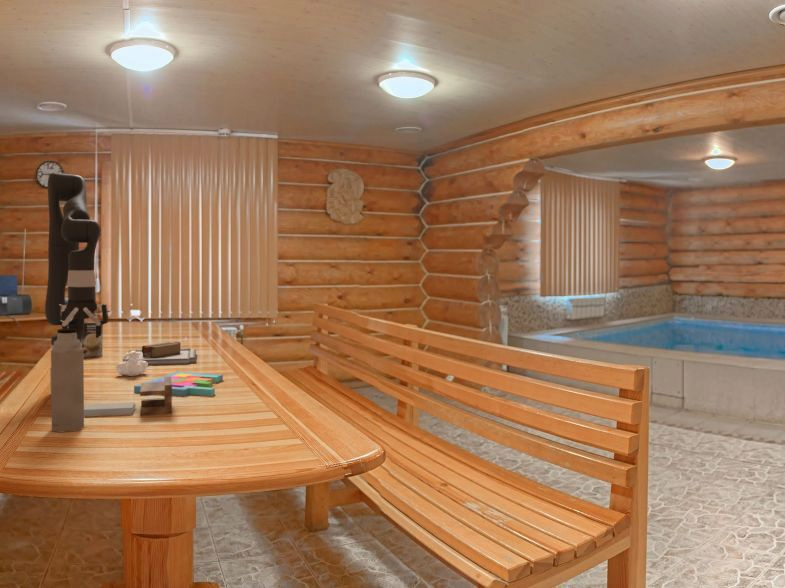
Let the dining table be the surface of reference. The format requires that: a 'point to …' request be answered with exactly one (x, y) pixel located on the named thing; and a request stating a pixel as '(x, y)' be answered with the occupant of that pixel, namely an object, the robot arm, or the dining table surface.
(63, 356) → the thermos bottle
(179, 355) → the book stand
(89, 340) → the coffee box
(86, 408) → the tile
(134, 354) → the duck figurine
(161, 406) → the shelf
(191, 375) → the tetris game
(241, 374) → the dining table surface
